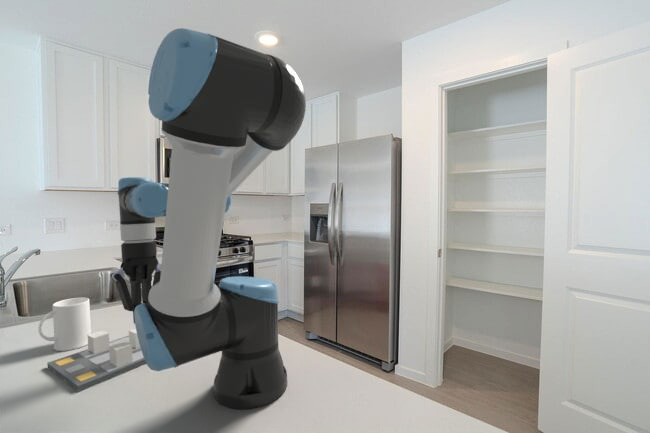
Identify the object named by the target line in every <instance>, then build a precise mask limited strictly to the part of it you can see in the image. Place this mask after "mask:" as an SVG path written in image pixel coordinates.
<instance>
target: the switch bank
mask: <svg viewBox="0 0 650 433" xmlns="http://www.w3.org/2000/svg"><path fill="white" fill-rule="evenodd" d="M124 341H126V342H128V343H129V335H126V336H123V337H121V338H118V339H114V340H111V341H109V346H112V345H115V344H118V343H121V342H124ZM132 354H133V361H131V362H129V363H126V364H123V365H121V366H118V367H116V366H114V365H113V364H111V363H110V354H109V349H106V350H103V351H101V352H98V353H95V354H94V353H92V352H90V351H89V350H88V348H87V349H84V350H80V351H79V352H76V353H73V354H70V355H67V356H64V357H61V358H57V359H54V360H51V361H48V362H47V366H46V367H47V369H49V370H50V371H51V372H53V373H54V374H55V375H56V376H58V378H59V379H61V380H63V381H64V382H65V383H66V384H67V385H69V386H70V387H72V388H73V389H74V390H75V391H77V392H82V391H84V390H86V389H87V390H88V389H89V388H91V387H94V386H96V385H98V384H100V383H102V382H105V381H107V380H110V379H112V378H114V377H118V376H120V375H122V374H124V373H127V372H129V371H132V370H134V369H136V368H137V369H138V368H139V367H142V366H144V365H147V364H146V362H145V359H144V357H143V354H142V351H141V347H139V348H134V347H132Z"/></svg>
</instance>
